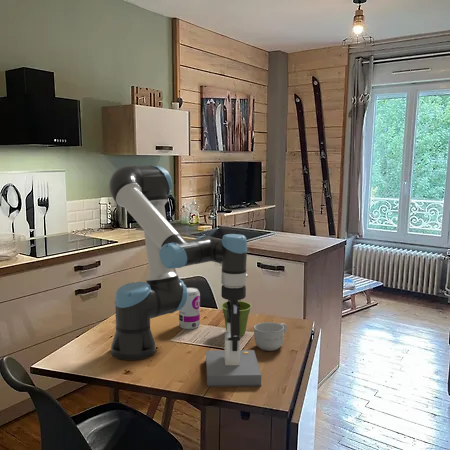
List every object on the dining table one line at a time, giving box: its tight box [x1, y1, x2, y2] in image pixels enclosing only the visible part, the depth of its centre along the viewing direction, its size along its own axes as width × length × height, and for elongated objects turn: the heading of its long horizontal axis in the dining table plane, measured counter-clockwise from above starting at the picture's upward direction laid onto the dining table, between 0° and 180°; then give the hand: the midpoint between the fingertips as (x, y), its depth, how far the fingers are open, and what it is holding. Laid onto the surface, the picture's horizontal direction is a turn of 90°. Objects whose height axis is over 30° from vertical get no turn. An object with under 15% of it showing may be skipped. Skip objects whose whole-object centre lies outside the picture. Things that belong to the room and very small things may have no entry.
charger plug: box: [224, 331, 241, 365], centre depth 145 cm, size 4×4×12 cm
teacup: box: [253, 321, 288, 352], centre depth 166 cm, size 14×11×8 cm
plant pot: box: [220, 300, 253, 337], centre depth 178 cm, size 12×12×11 cm
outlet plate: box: [205, 349, 262, 388], centre depth 146 cm, size 16×18×4 cm
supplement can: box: [178, 287, 201, 330], centre depth 185 cm, size 8×8×15 cm
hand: (232, 350), depth 145 cm, fingers open, 13 cm apart
